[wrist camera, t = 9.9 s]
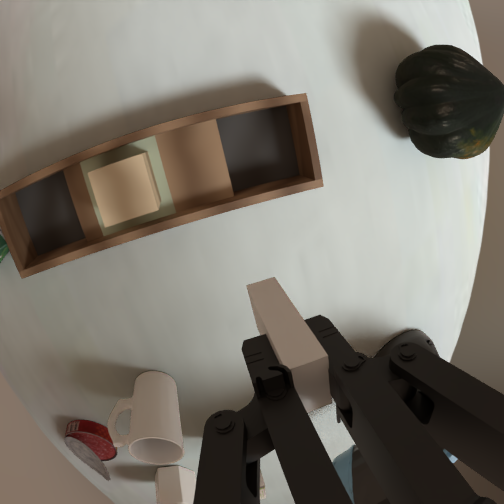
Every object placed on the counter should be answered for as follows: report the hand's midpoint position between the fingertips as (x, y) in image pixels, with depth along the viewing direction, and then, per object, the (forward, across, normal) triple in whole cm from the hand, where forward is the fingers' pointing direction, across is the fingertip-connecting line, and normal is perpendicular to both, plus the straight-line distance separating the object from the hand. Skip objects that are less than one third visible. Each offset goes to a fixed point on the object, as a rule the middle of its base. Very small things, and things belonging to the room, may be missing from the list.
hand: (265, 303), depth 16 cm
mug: (+20, +17, +20) cm, 33 cm away
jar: (+20, +24, +48) cm, 58 cm away
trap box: (+19, +6, -6) cm, 21 cm away
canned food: (+20, +33, +31) cm, 49 cm away
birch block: (+16, +8, -7) cm, 19 cm away
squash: (+19, -30, -10) cm, 37 cm away
